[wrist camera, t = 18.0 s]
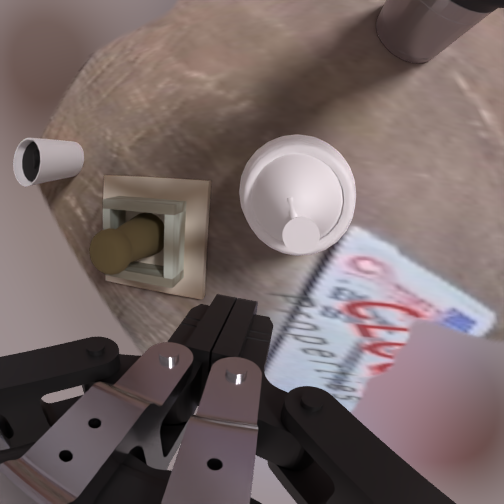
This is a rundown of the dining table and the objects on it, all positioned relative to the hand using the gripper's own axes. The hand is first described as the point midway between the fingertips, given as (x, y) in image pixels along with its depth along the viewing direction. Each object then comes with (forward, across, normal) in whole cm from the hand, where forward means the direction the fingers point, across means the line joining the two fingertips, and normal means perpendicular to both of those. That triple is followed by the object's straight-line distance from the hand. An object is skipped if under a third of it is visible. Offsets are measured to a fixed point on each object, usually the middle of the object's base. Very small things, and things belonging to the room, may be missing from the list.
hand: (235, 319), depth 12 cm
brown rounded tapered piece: (+28, +18, +6) cm, 33 cm away
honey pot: (+29, -1, -2) cm, 29 cm away
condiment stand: (+29, +17, +6) cm, 34 cm away
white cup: (+29, +34, -3) cm, 45 cm away
